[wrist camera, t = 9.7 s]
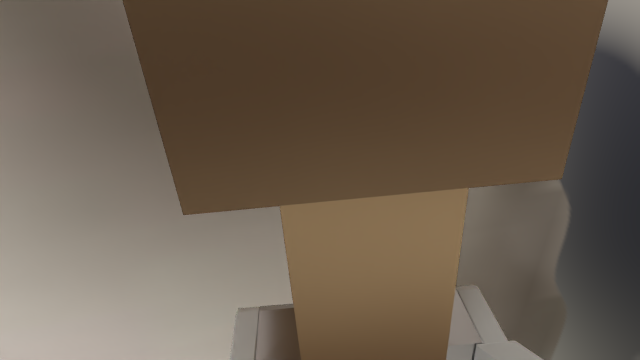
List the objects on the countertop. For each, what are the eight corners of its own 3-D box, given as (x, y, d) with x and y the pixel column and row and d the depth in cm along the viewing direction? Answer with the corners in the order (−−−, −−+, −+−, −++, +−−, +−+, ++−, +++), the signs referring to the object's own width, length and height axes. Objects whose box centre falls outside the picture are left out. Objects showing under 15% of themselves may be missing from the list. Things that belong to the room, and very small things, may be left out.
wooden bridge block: (137, -101, 11) (-182, -168, 3) (487, -128, 11) (893, -243, 4) (267, 444, 24) (259, 673, 16) (427, 426, 24) (489, 645, 17)
